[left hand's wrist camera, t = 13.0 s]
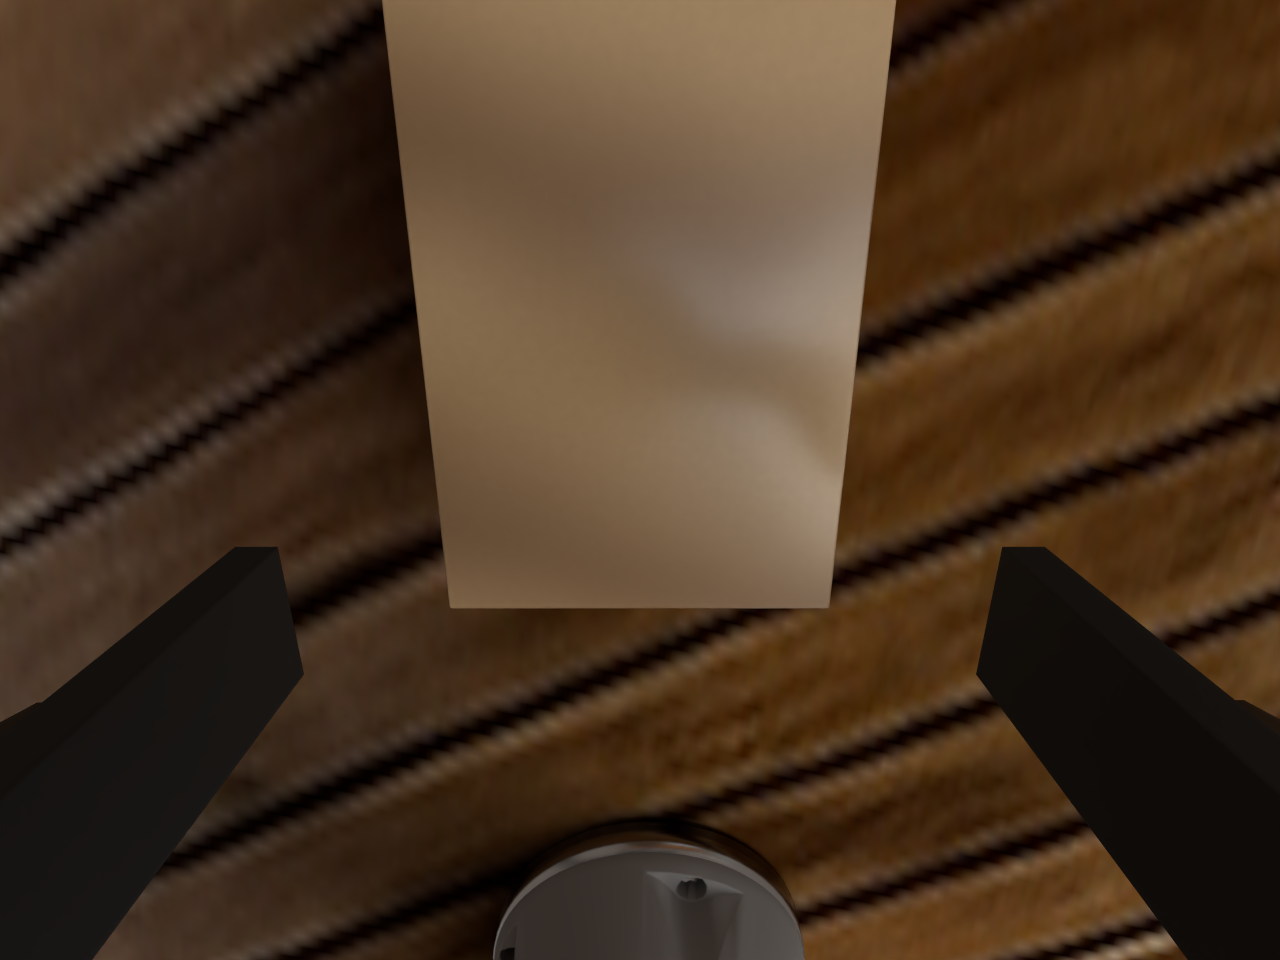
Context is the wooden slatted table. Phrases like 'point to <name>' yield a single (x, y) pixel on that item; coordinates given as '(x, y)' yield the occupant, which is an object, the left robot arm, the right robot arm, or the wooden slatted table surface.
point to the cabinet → (639, 288)
